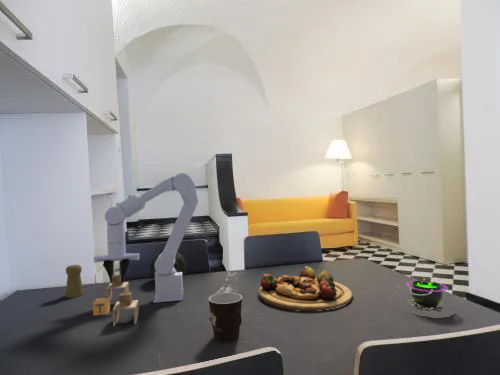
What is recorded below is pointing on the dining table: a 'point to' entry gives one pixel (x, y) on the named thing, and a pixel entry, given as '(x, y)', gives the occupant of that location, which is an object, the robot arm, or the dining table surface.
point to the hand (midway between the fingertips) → (117, 281)
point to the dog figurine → (229, 284)
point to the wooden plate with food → (304, 291)
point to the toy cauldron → (426, 294)
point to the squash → (178, 264)
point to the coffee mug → (226, 316)
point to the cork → (74, 281)
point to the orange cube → (101, 306)
